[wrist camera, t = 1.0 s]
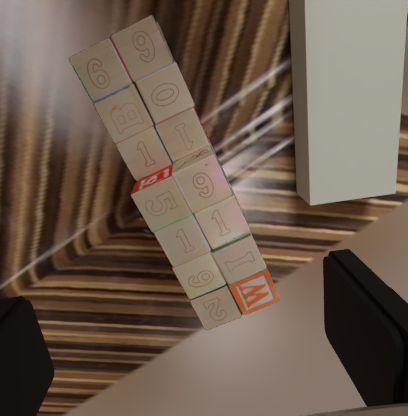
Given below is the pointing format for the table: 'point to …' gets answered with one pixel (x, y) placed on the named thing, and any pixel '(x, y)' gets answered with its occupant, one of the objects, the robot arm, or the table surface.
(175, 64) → the stack of blocks
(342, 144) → the base block
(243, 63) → the table surface
